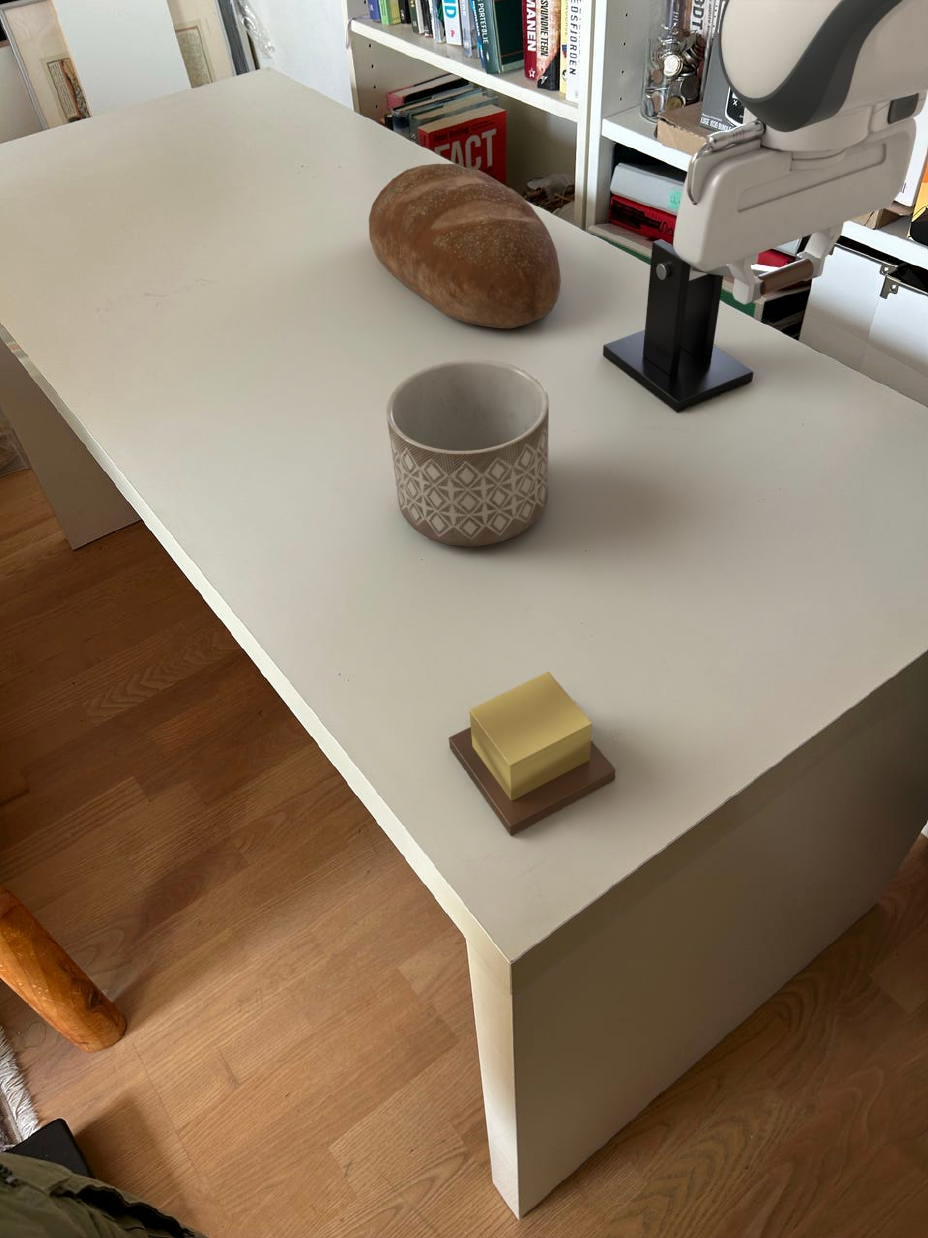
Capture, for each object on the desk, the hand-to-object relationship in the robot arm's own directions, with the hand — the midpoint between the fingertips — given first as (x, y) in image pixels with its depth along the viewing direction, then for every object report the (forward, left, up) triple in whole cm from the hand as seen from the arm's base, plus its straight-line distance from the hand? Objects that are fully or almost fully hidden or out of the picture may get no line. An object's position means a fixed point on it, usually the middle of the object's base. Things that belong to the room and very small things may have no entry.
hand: (777, 287), depth 79 cm
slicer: (+11, 0, -13) cm, 17 cm away
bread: (+39, +8, -14) cm, 42 cm away
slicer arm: (+5, 0, -2) cm, 6 cm away
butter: (-21, +37, -13) cm, 45 cm away
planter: (+4, +27, -14) cm, 30 cm away
